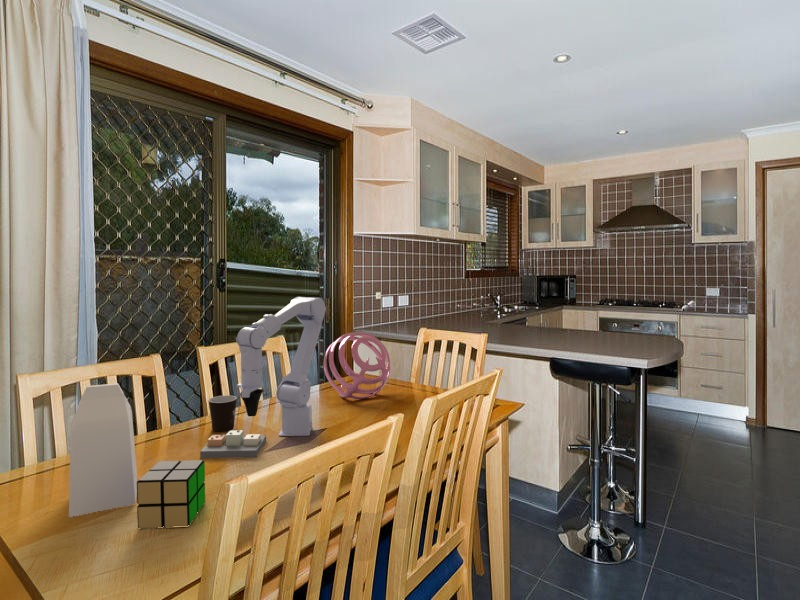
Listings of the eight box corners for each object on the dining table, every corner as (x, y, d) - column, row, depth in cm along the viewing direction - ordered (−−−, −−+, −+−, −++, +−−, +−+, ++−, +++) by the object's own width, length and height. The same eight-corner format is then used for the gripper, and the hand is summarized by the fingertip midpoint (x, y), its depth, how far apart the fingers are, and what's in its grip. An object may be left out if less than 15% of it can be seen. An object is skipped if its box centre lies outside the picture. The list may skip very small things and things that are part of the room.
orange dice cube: (225, 446, 134) (225, 434, 134) (221, 451, 130) (221, 438, 130) (212, 446, 134) (212, 434, 134) (208, 451, 130) (207, 438, 130)
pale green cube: (243, 441, 134) (243, 429, 134) (239, 446, 131) (239, 434, 130) (229, 441, 134) (229, 429, 134) (226, 446, 130) (225, 434, 130)
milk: (68, 517, 95) (64, 394, 94) (77, 493, 106) (74, 382, 104) (135, 504, 101) (132, 388, 99) (137, 483, 111) (135, 377, 110)
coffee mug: (226, 435, 144) (225, 403, 144) (203, 432, 147) (202, 401, 146) (247, 423, 155) (247, 394, 155) (226, 421, 158) (225, 392, 157)
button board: (266, 441, 139) (266, 435, 139) (256, 457, 127) (256, 450, 127) (214, 442, 138) (214, 435, 138) (200, 458, 126) (200, 451, 126)
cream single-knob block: (260, 445, 135) (260, 433, 135) (257, 450, 131) (257, 438, 131) (247, 445, 135) (247, 433, 134) (243, 450, 131) (243, 438, 131)
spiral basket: (315, 344, 202) (338, 314, 183) (372, 355, 214) (400, 328, 195) (311, 405, 187) (337, 379, 167) (373, 413, 199) (404, 389, 179)
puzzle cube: (159, 504, 101) (158, 460, 101) (205, 503, 102) (205, 459, 101) (136, 530, 91) (135, 481, 91) (189, 528, 92) (188, 479, 91)
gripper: (244, 364, 139) (244, 408, 139) (229, 374, 124) (230, 424, 125) (267, 364, 139) (268, 408, 140) (256, 374, 125) (256, 423, 125)
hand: (252, 415), depth 132 cm, fingers closed
